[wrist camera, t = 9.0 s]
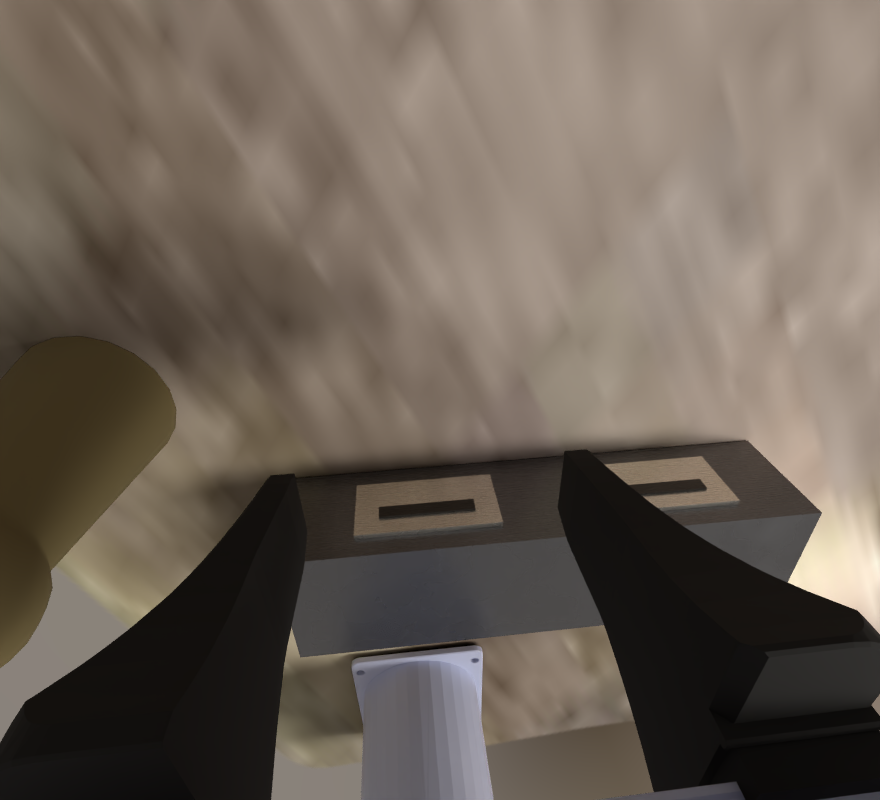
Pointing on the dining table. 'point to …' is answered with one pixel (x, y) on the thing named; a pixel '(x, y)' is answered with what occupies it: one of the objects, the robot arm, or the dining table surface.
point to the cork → (67, 460)
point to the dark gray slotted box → (510, 542)
